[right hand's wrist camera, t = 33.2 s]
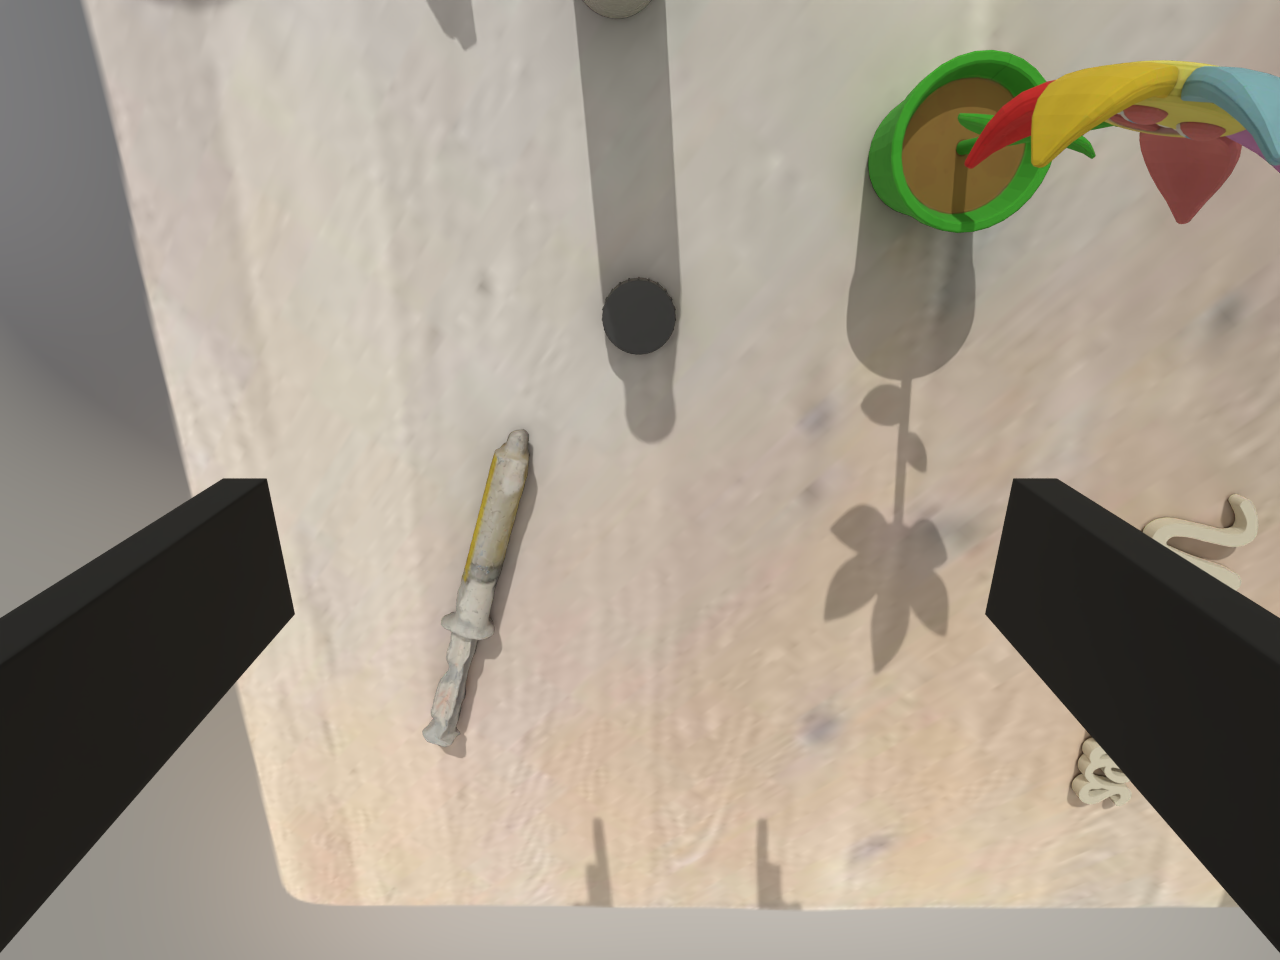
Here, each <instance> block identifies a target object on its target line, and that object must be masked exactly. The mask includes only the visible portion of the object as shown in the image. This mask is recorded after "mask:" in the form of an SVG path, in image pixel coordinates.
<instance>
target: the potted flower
mask: <svg viewBox="0 0 1280 960" xmlns="http://www.w3.org/2000/svg"><path fill="white" fill-rule="evenodd" d="M1110 126H1116V127H1121V128H1125V129H1129V130H1132V131H1137V132H1140V139H1139V140H1140V147H1141V151H1142V155H1143V158H1144V161H1145V164H1146V166H1147V168H1148V170H1149V173H1150V175H1151V177H1152V179H1153V181H1154V182H1155V184H1156V186H1157V188H1158V189H1159V191H1160V192H1161V194H1162V196H1163V197H1164V199H1165V200H1166V202H1167V204H1168V206H1169V208H1170V210H1171V212H1172V214H1173V216H1174V218H1175V220H1176V222H1177V223H1179V224H1185V223H1188V222H1190V220H1191V219H1192V218H1193V217H1194V216H1195V215H1196V213H1197V212H1198V211H1199V210H1200V209H1201V208H1202V206H1203V205H1204V204H1205V203H1206V202H1207V201H1208V200H1209V199H1210V198H1211V197H1212V196H1213V195H1214V194H1215V193H1216V191H1217V190H1218V189H1219V188H1220V187H1221V186H1222V185H1223V183H1224V182H1225V181H1226V180H1227V178H1228V177H1229V176H1230V174H1231V173H1232V171H1233V169H1234V167H1235V165H1236V163H1237V161H1238V160H1239V157H1240V153H1241V148H1242V145H1243V146H1245V147H1246V148H1248V149H1250V150H1251V151H1253V152H1255V153H1257V154H1258V155H1259V156H1260V157H1262V158H1263V159H1264V160H1266V161H1267V162H1268V163H1269V164H1271V165H1272V166H1273V167H1274V168H1275V169H1276V170H1277V171H1278V172H1279V173H1280V78H1279V77H1277V76H1274V75H1271V74H1267V73H1263V72H1258V71H1254V70H1249V69H1245V68H1235V67H1220V66H1215V65H1209V64H1203V63H1195V62H1184V61H1138V62H1130V63H1121V64H1114V65H1106V66H1099V67H1093V68H1087V69H1083V70H1079V71H1076V72H1072V73H1069V74H1066V75H1064V76H1062V77H1060V78H1059V79H1057V80H1053V81H1048V82H1046V80H1045V79H1044V78H1043V77H1042V75H1041V74H1040V73H1039V72H1038V70H1037V69H1036V68H1035V67H1033V66H1032V65H1031V64H1029V63H1028V62H1027V61H1025V60H1024V59H1022V58H1020V57H1018V56H1015V55H1013V54H1011V53H1008V52H1001V51H995V50H985V51H974V52H971V53H967V54H964V55H960V56H957V57H955V58H954V59H952V60H950V61H948V62H946V63H944V64H942V65H941V66H939V67H938V68H937V69H936V70H934V71H933V72H932V73H930V74H929V75H928V76H927V77H925V78H924V79H923V80H922V81H921V82H920V83H919V84H918V85H917V86H916V87H915V88H914V89H913V90H912V91H911V93H910V94H909V95H908V96H907V97H906V99H905V100H904V101H903V102H902V103H900V104H899V105H898V106H897V107H895V108H894V109H893V110H892V111H891V112H890V113H889V114H888V115H887V116H886V117H885V118H884V120H883V121H882V123H881V124H880V126H879V127H878V129H877V130H876V133H875V135H874V138H873V140H872V143H871V147H870V151H869V161H868V168H869V176H870V179H871V182H872V185H873V188H874V190H875V191H876V193H877V195H878V197H879V198H880V199H881V200H882V201H883V202H884V203H885V204H886V205H887V206H889V207H890V208H892V209H893V210H895V211H898V212H900V213H903V214H906V215H909V216H912V217H913V218H915V219H916V220H917V221H919V222H920V223H923V224H925V225H928V226H930V227H933V228H936V229H939V230H942V231H949V232H956V233H961V232H974V231H978V230H982V229H985V228H989V227H991V226H993V225H995V224H997V223H999V222H1001V221H1004V220H1005V219H1006V218H1008V217H1009V216H1011V215H1012V214H1014V213H1015V212H1016V211H1018V210H1019V209H1020V208H1021V207H1022V206H1023V205H1024V204H1025V203H1026V202H1027V201H1028V200H1029V199H1030V198H1031V197H1032V195H1033V194H1034V193H1035V191H1036V190H1037V189H1038V187H1039V186H1040V184H1041V183H1042V181H1043V179H1044V177H1045V175H1046V173H1047V171H1048V170H1049V168H1050V165H1051V162H1052V160H1053V159H1054V158H1055V157H1057V156H1058V155H1059V154H1060V153H1061V152H1062V151H1063V150H1064V149H1065V148H1069V149H1072V150H1075V151H1078V152H1081V153H1083V154H1085V155H1086V156H1088V157H1089V158H1091V159H1093V158H1094V157H1095V156H1096V155H1095V152H1094V150H1093V147H1092V145H1091V143H1090V142H1089V141H1088V140H1087V139H1086V138H1085V137H1083V136H1082V135H1084V134H1085V133H1087V132H1088V131H1090V130H1094V129H1100V128H1105V127H1110Z"/></svg>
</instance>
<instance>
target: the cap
mask: <svg viewBox="0 0 1280 960" xmlns="http://www.w3.org/2000/svg"><path fill="white" fill-rule="evenodd" d="M602 310H603V315H602V316H603V317H602V320H603V326H604V330H605V332H606V334H607V336H608V338H609V339H610V340H611V342H612V343H613V344H614V345H615V346H616V347H618V348H619V349H621V350H623V351H625V352H627V353H631V354H647V353H650V352H653V351H655V350H657V349H659V348H660V347H661V346H663V345H664V344H665V343H666V341H667V340H668V339H669V337H670V336H671V334H672V331H673V330H674V325H675V320H676V318H675V307H674V306H673V303H672V298H671V297H670V296H669V295H668V293H667V291H666V289H664V288H663V287H662V286H660V285H659V283H658V282H657V283H656V282H654V281H652V280H650V279H649V278H648V279H645V278H640V277H638V278H633V279H630V278H628V280H626V281H624V282H622V283H621V282H620V283H619V285H617V286H616V287H615V288H614V289H612V290H611V293H610V294H609V296H608V297H606V303H605V305H604V306H603V309H602Z"/></svg>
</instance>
